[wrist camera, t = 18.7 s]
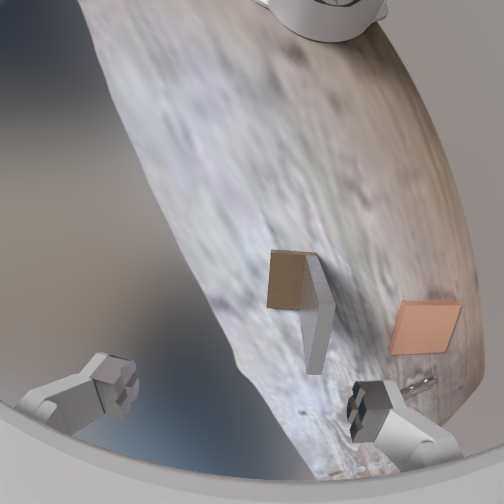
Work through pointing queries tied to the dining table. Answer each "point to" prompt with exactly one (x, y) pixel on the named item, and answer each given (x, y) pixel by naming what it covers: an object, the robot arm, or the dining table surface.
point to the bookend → (303, 300)
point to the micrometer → (417, 387)
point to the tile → (424, 327)
